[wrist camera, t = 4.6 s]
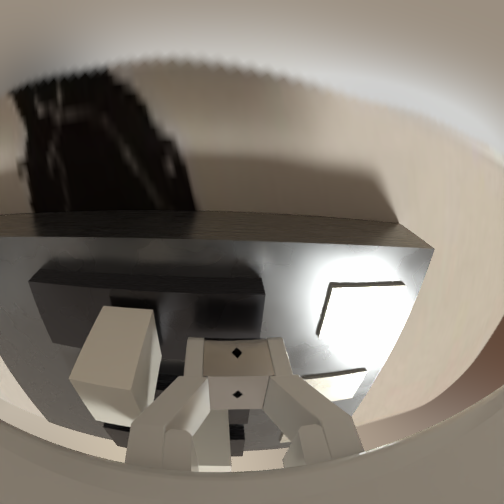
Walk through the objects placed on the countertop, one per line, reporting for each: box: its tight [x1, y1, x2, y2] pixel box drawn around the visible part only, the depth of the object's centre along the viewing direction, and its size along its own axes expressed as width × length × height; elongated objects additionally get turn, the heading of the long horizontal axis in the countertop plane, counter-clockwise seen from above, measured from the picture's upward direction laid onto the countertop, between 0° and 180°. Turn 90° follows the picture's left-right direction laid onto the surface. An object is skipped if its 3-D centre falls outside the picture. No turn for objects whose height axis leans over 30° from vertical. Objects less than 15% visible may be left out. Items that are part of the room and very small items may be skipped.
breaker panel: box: [0, 210, 434, 456], centre depth 13 cm, size 24×17×4 cm
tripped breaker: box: [69, 306, 162, 427], centre depth 7 cm, size 2×2×3 cm
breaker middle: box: [192, 410, 232, 472], centre depth 10 cm, size 2×2×3 cm
